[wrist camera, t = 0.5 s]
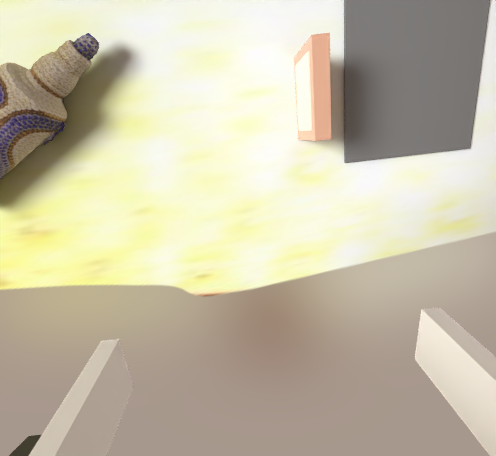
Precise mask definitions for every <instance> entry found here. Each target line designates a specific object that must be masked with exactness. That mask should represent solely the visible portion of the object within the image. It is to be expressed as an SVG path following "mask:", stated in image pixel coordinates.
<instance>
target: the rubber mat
mask: <svg viewBox="0 0 496 456" xmlns="http://www.w3.org/2000/svg"><path fill="white" fill-rule="evenodd" d="M489 4H490V0H344V155H345V163H348V162H357V161H366V160H374V159H383V158H391V157H400V156H408V155H417V154H425V153H434V152H443V151H451V150H460V149H468V148H470V145H471V138H472V130H473V123H474V115H475V108H476V101H477V93H478V86H479V78H480V71H481V63H482V56H483V49H484V41H485V34H486V26H487V19H488V11H489Z"/></svg>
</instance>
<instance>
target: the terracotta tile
mask: <svg viewBox="0 0 496 456" xmlns="http://www.w3.org/2000/svg"><path fill="white" fill-rule="evenodd" d="M294 65H295V85H296V104H297V124H298V139H299V140H311V141H318V140H327V139H331V87H330V33H324V34H316V35H311V36H310V38H309V39H308V40H307V42H306V43H305V44H304V46H303V47H302V48H301V50H300V51H299V52H298V54H297V55H296V56H295V57H294Z"/></svg>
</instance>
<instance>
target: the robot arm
mask: <svg viewBox="0 0 496 456" xmlns="http://www.w3.org/2000/svg"><path fill="white" fill-rule="evenodd" d="M415 360H416V361H417V363H418V364H419V365H420V366H421V368H422V369H423V370H424V371H425V373H426V374H427V375H428V377H429V378H430V379H431V381H432V382H433V383H434V384H435V386H436V387H437V388H438V390H439V391H440V392H441V393H442V395H443V396H444V397H445V399H446V400H447V401H448V402H449V404H450V405H451V406H452V408H453V409H454V410H455V411H456V413H457V414H458V415H459V416H460V418H461V419H462V420H463V422H464V423H465V424H466V425H467V427H468V428H469V429H470V431H471V432H472V433H473V434H474V436H475V437H476V438H477V440H478V441H479V442H480V443H481V445H482V446H483V447H484V449H485V450H486V451H487V452H488V454H489V455H490V456H496V357H495V356H494V355H493V354H492V353H490V352H489V351H488V350H487V349H486V348H485V347H484V346H482V345H481V344H480V343H479V342H478V341H477V340H476V339H474V338H473V337H472V336H471V335H470V334H469V333H468V332H467V331H465V330H464V329H463V328H462V327H461V326H460V325H459V324H457V323H456V322H455V321H454V320H453V319H451V317H449V316H448V315H447V314H446V313H445V312H444V311H443V310H441V309H440V308H439V307H438V308H427V309H422V310H421V317H420V324H419V331H418V338H417V345H416V352H415ZM132 390H133V384H132V380H131V377H130V373H129V370H128V367H127V363H126V360H125V356H124V353H123V349H122V346H121V343H120V339H112V340H102V341H101V342H100V344H99V345H98V347H97V349H96V350H95V352H94V353H93V355H92V357H91V358H90V360H89V361H88V363H87V364H86V366H85V368H84V369H83V371H82V372H81V374H80V375H79V377H78V379H77V380H76V382H75V383H74V385H73V386H72V388H71V390H70V391H69V393H68V394H67V396H66V398H65V399H64V401H63V402H62V404H61V406H60V407H59V409H58V410H57V412H56V413H55V415H54V416H53V418H52V420H51V421H50V423H49V424H48V426H47V427H46V429H45V431H44V432H43V434H42V435H35V436H29V437H27V438H26V439H25V440H24V441H23V442H22V443H21V445H19V446H18V447H17V448H16V449H15V450H14V451H13V452H12V453H11V454H10V456H106V455H107V453H108V450H109V448H110V445H111V443H112V440H113V438H114V435H115V433H116V430H117V428H118V425H119V422H120V420H121V417H122V415H123V412H124V410H125V407H126V405H127V402H128V400H129V397H130V395H131V392H132Z"/></svg>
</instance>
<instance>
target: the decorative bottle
mask: <svg viewBox="0 0 496 456" xmlns="http://www.w3.org/2000/svg"><path fill="white" fill-rule="evenodd" d="M98 49H99V42H98V41H97V40H96V39H95V38H94V37H93V36H91V35H90V34H89V33H88V34H86V35H83V36H81V37H80V38H78V39H77V40H76V41H75V42H72V41H71V40H69V41H66V42H65V43H64V44H63V45H62V46H60V47H59V48H58V49H57V51H56V52H51V53H49V54H47V55H45V56H42V57H41V58H40V59H39V60H38V61H37V62H36V63H35V64H33V66H32V68H31V69H29V70H28V69H26V68H24V67H22V66H19V65H17V64H15V63H6V64H3V65H1V66H0V179H1V178H2V177H3V176H4V175H5V174H6V173H8V172H9V171H10V170H12V169H13V168H14V167H15V166H16V165H18V163H19V162H20V161H21V160H23V159H24V158H25V157H26V156H27V155H28V154H30V153H31V152H32V151H33V150H34V149H35V148H36V147H38V146H39V145H41V144H46V143H47V142H48V141H51V140H52V139H53V138H54V137H55V135H57V134H58V133H59V132H61V131H63V129H64V127H65V125H64V122H65V121H66V119H67V111H66V109H65V107H64V105H63V98H64V97H66V96H67V95H68V94H69V93H71V92H72V90H73V89H74V88H75V86H76V84H77V82H78V80H79V77H80V76H81V75H82V74H83V73H84V72H85V71H86V70H87V69H88V68H89V67H90V66H91V60H90V59H92V58H93V56H94V55H95V54H96V53H97V51H98ZM59 127H61V129H60V130H58V128H59ZM55 130H57V132H56V133H54V131H55Z"/></svg>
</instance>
